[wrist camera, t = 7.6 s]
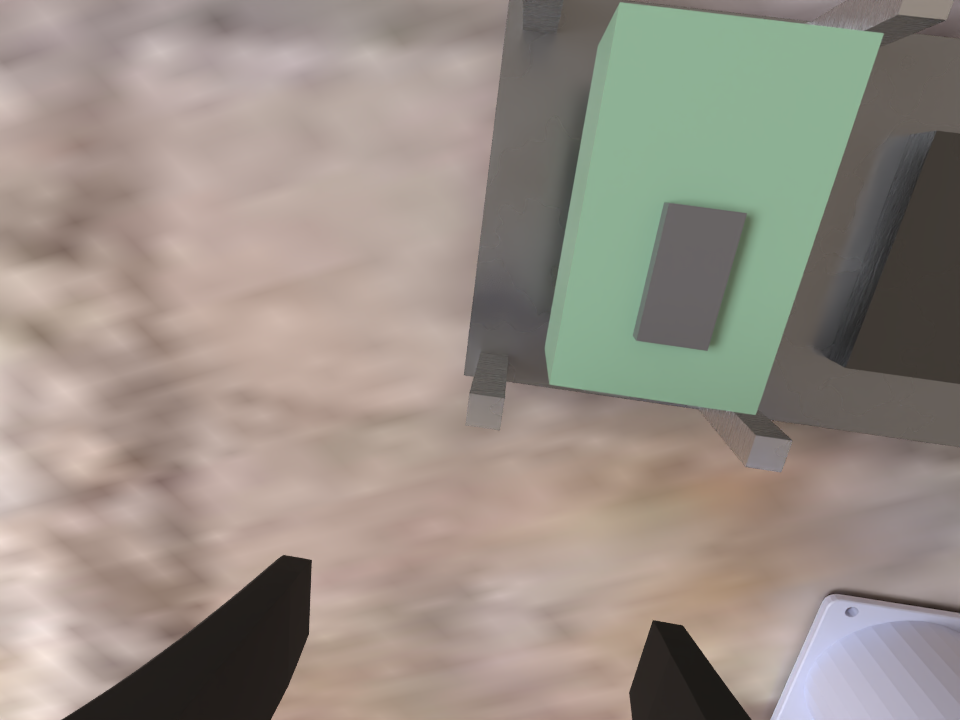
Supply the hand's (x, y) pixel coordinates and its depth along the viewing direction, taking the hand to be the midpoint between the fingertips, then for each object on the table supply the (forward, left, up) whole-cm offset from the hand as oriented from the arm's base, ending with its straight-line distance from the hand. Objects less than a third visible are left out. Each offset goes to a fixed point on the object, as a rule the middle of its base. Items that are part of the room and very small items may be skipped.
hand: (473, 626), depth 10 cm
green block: (-3, -8, -6) cm, 11 cm away
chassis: (-7, -8, -10) cm, 15 cm away
